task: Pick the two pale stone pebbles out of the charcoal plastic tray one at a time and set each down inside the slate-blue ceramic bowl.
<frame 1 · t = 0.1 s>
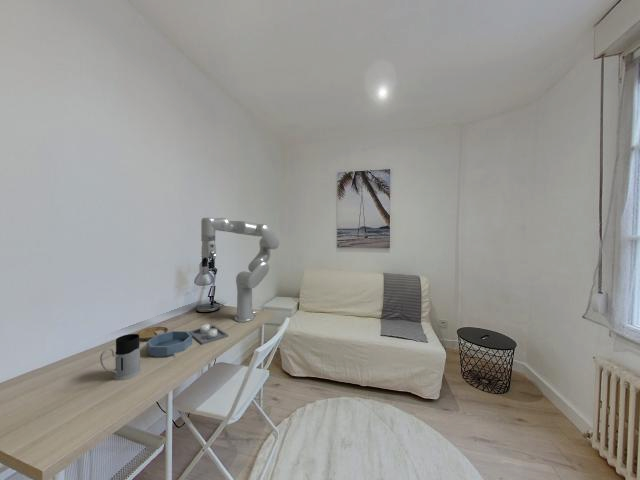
hand: (208, 267, 146), 37 cm above the table, tool pointing down, fingers open, 9 cm apart
pebble a: (204, 332, 141), point 1 cm above the table, touching tray
tray: (208, 336, 137), on the table
glass holder: (121, 378, 98), on the table
pebble b: (212, 337, 134), point 1 cm above the table, touching tray
plant saucer: (152, 336, 136), on the table
bowl: (170, 348, 123), on the table
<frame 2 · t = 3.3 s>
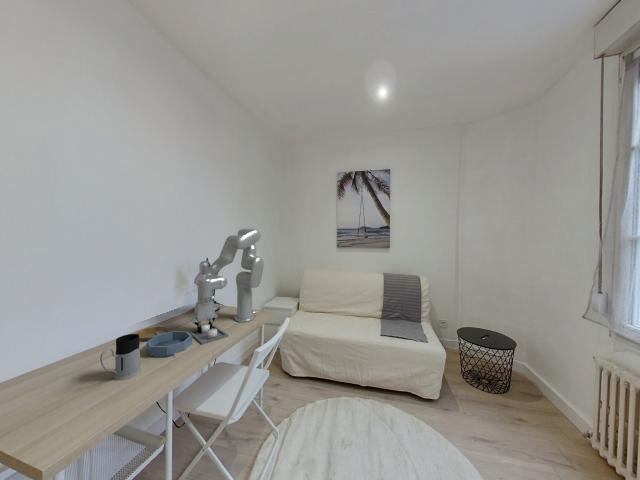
hand: (204, 331, 141), 1 cm above the table, tool pointing down, fingers closed on pebble a, 4 cm apart
pebble a: (204, 332, 141), point 1 cm above the table, touching gripper, tray
everything else where it was.
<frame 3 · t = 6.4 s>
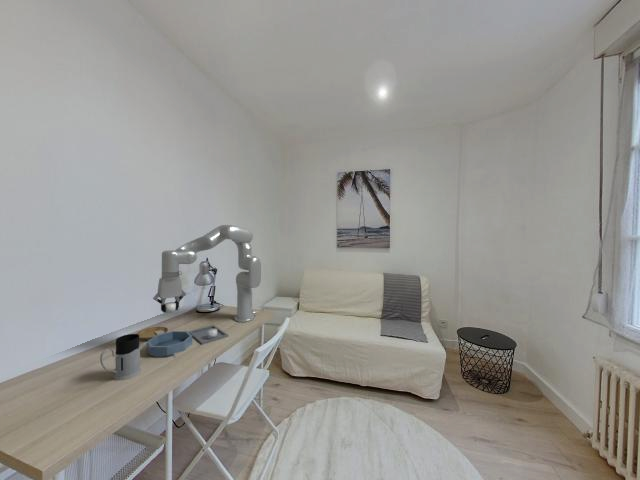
hand: (170, 310, 126), 18 cm above the table, tool pointing down, fingers closed on pebble a, 4 cm apart
pebble a: (170, 311, 126), point 17 cm above the table, touching gripper
everything else where it was.
when the fingers open (3 cm above the table, at t = 9.7 s): pebble a drops 1 cm, resting on bowl.
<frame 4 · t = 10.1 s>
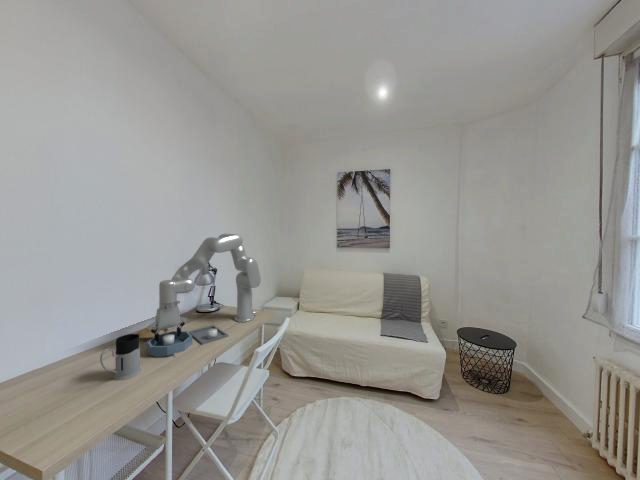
hand: (168, 338, 125), 4 cm above the table, tool pointing down, fingers open, 9 cm apart
pebble a: (168, 344, 126), point 1 cm above the table, touching bowl
everything else where it was.
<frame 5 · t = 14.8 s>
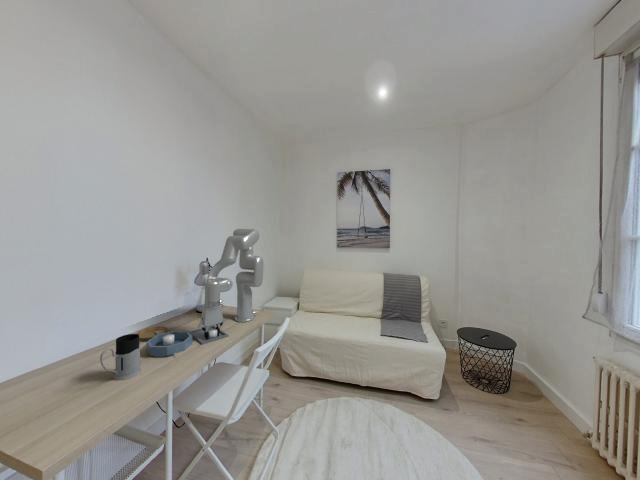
hand: (212, 336, 134), 1 cm above the table, tool pointing down, fingers closed on pebble b, 4 cm apart
pebble b: (212, 337, 134), point 1 cm above the table, touching gripper, tray
everything else where it was.
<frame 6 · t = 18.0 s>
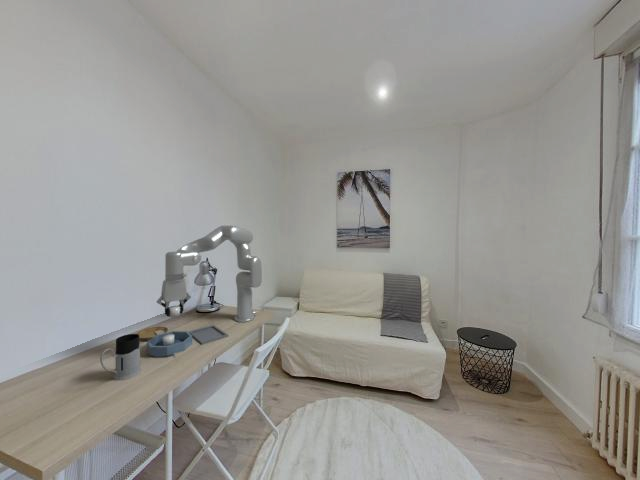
hand: (174, 314, 120), 18 cm above the table, tool pointing down, fingers closed on pebble b, 4 cm apart
pebble b: (174, 315, 120), point 17 cm above the table, touching gripper
everything else where it was.
when the fingers open (3 cm above the table, at t = 21.3 s): pebble b drops 1 cm, resting on bowl.
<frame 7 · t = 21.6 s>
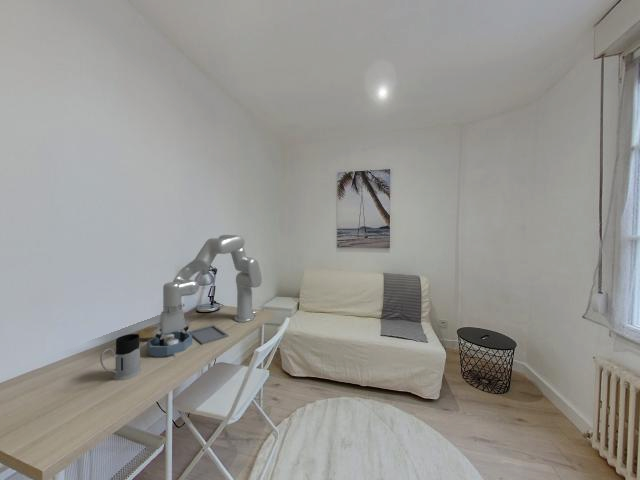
hand: (172, 343, 121), 3 cm above the table, tool pointing down, fingers open, 8 cm apart
pebble b: (172, 348, 121), point 1 cm above the table, touching bowl
everything else where it was.
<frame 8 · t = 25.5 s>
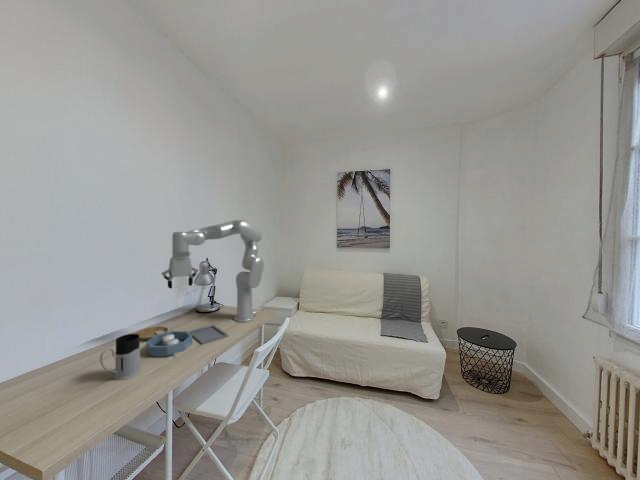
hand: (180, 286, 133), 28 cm above the table, tool pointing down, fingers open, 9 cm apart
nothing on the table moved.
at the end: pebble a 3.5 cm from the bowl (horizontally); pebble b 3.5 cm from the bowl (horizontally); the gripper is holding nothing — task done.
